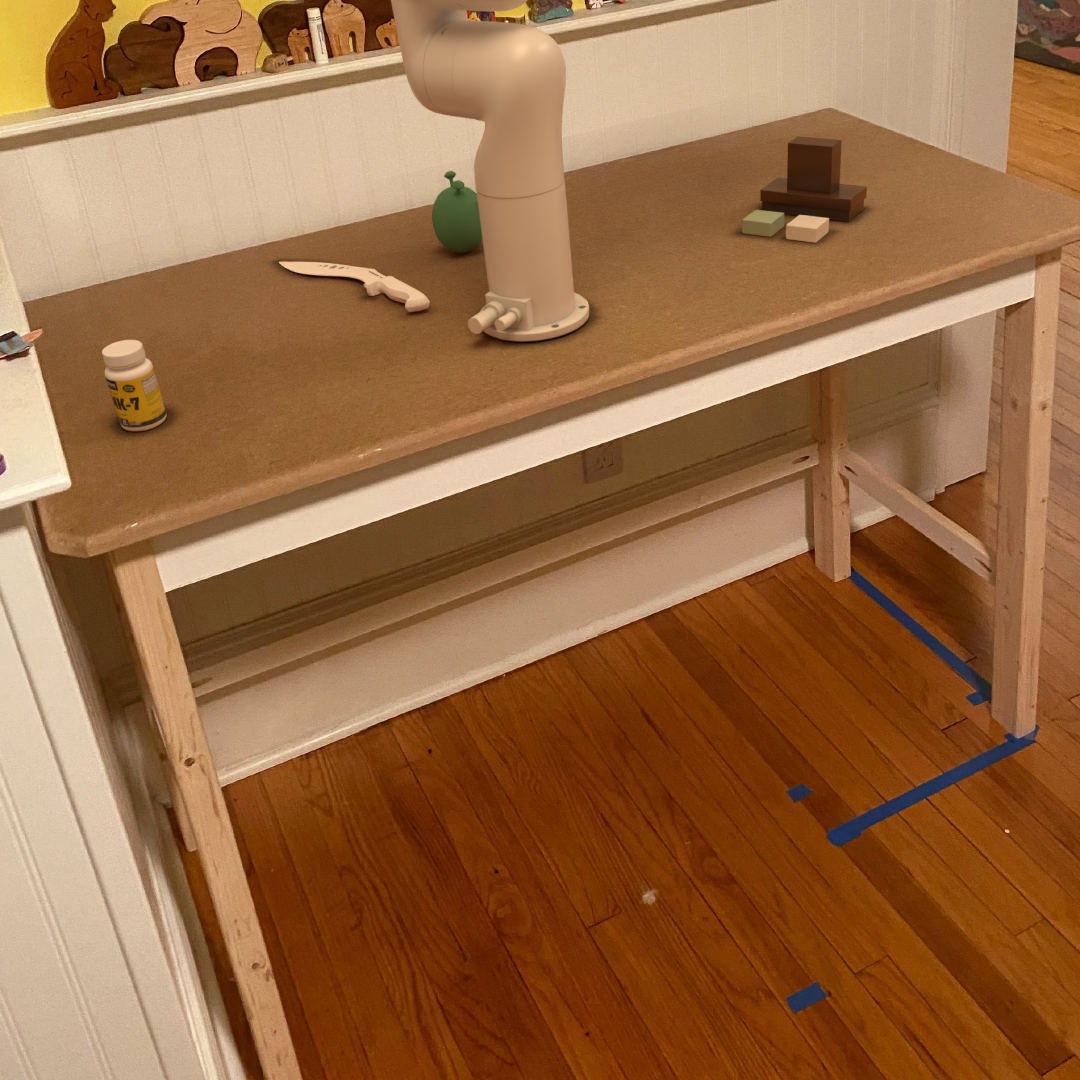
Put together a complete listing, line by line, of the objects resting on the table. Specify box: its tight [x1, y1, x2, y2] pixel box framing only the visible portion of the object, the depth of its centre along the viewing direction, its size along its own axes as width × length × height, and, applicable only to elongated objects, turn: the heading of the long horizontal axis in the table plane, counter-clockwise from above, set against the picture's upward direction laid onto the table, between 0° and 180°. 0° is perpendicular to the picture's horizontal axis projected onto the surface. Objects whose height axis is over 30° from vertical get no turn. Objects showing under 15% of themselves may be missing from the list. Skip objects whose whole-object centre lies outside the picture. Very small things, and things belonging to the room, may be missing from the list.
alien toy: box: [431, 170, 483, 254], centre depth 156 cm, size 7×8×10 cm
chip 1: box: [741, 209, 785, 238], centre depth 155 cm, size 4×4×2 cm
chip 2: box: [785, 215, 830, 244], centre depth 152 cm, size 4×4×2 cm
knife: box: [278, 261, 431, 313], centre depth 152 cm, size 30×2×8 cm
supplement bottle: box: [101, 339, 168, 432], centre depth 124 cm, size 5×5×8 cm
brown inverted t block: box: [759, 135, 868, 223], centre depth 157 cm, size 5×12×9 cm, turn 56°
